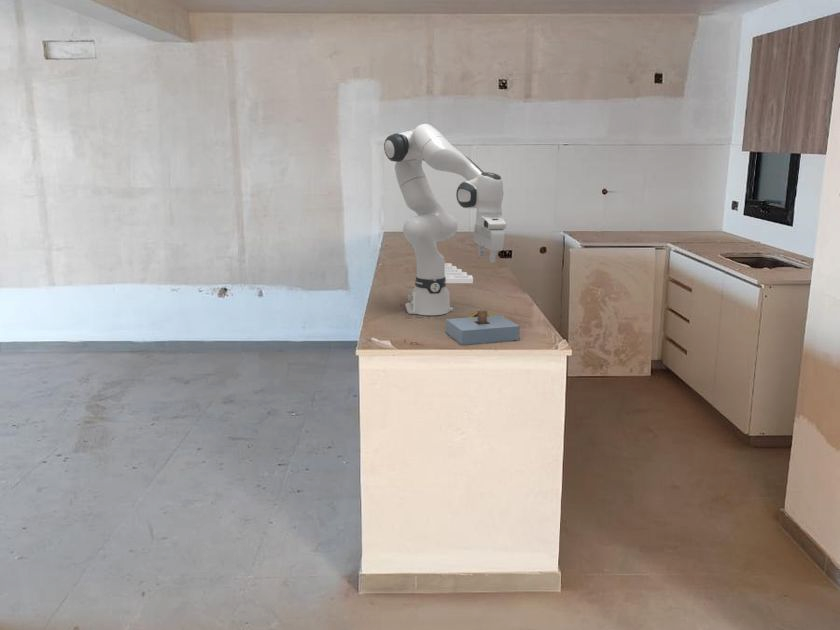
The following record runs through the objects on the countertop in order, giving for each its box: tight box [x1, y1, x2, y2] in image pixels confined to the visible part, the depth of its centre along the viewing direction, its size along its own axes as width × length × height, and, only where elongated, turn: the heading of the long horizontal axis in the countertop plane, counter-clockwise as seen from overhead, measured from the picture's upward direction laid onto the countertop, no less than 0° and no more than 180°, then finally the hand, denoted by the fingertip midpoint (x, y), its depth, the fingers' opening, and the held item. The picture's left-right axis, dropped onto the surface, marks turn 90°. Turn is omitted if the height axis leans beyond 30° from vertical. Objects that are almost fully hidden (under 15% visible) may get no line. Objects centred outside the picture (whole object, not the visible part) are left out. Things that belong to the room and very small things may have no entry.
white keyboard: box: [445, 262, 474, 284], centre depth 376 cm, size 45×18×3 cm, turn 179°
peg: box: [477, 309, 488, 325], centre depth 258 cm, size 3×3×9 cm
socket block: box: [445, 314, 521, 346], centre depth 258 cm, size 17×21×5 cm
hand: (486, 259), depth 260 cm, fingers open, 8 cm apart
